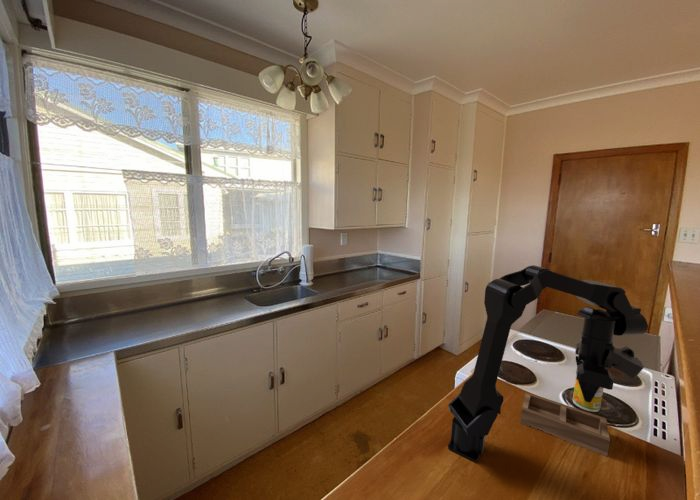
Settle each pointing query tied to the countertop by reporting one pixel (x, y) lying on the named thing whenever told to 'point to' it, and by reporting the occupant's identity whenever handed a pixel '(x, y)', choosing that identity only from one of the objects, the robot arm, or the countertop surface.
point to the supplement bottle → (581, 403)
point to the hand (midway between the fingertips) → (586, 395)
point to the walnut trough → (566, 423)
